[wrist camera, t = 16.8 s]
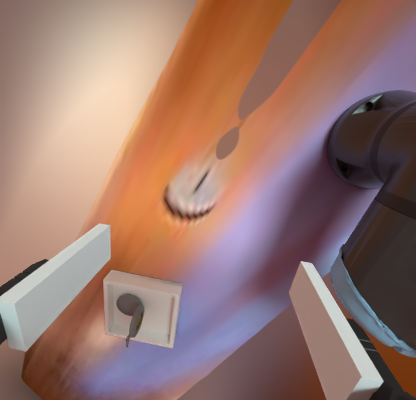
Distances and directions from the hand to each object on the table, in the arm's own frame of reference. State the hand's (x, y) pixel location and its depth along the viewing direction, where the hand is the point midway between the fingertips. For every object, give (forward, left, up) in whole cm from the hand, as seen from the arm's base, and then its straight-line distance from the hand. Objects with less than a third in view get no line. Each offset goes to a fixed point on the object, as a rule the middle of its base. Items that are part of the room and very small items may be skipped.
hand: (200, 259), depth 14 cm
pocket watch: (+15, +36, -26) cm, 47 cm away
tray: (+13, +37, -27) cm, 47 cm away
